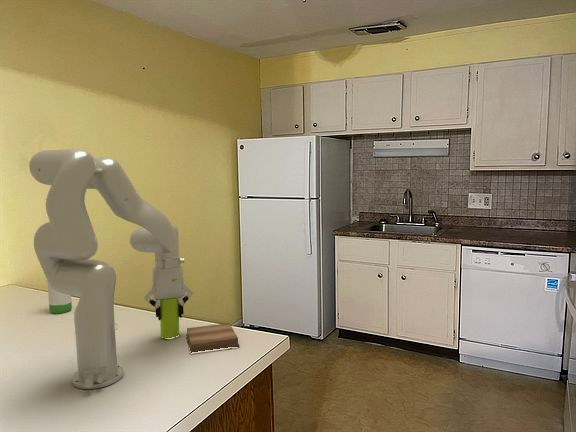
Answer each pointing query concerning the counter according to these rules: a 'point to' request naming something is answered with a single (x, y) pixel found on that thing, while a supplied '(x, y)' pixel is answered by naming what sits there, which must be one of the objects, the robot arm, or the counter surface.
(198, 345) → the plinth
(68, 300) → the wine bottle
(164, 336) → the soap dispenser
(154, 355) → the counter surface
